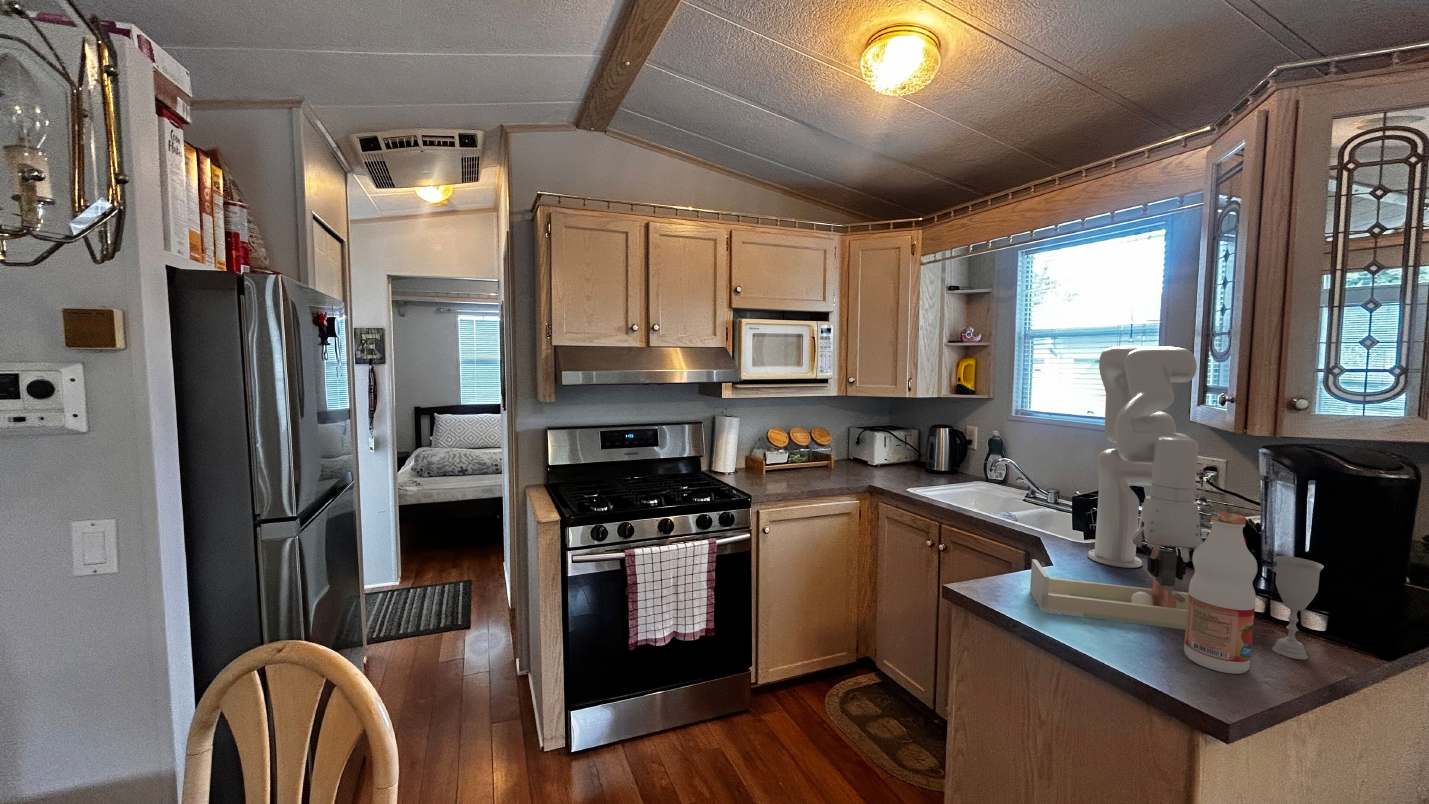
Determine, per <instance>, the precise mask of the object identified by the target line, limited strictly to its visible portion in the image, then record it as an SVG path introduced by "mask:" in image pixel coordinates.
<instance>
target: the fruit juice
mask: <svg viewBox="0 0 1429 804" xmlns="http://www.w3.org/2000/svg"><path fill="white" fill-rule="evenodd" d="M1209 518H1210V522H1211V524H1212V525H1211V528H1210V530H1209V533H1208V535H1207V537H1205V540H1204V541H1203V543H1202V544H1201V545H1199V546H1198V547H1197V548H1196V549H1195V550H1194V553H1193V557H1192V558H1191V559H1192V565H1193V568H1194V572H1193V574H1192V576H1191V577H1190V580H1189V584H1188V592H1187V593H1188V606H1187V617H1186V629H1185V630H1184V631H1185V632H1184V633H1185V634H1184V641H1183V642H1184V643H1183V651H1184V655H1185V656H1186V657H1187V659H1188V660H1191V661H1192V662H1193V663H1195V664H1197V665H1199V666H1201V667H1203V668H1207V669H1210V670H1213V671H1216V672H1220V673H1223V674H1224V673H1226V674H1231V675H1232V674H1233V675H1235V674H1236V675H1237V674H1238V675H1239V674H1244V673H1247V671H1248V670H1249V669H1250V665H1251V652H1252V643H1253V633H1254V622H1255V621H1254V619H1255V610H1256V609H1255V608H1256V590H1255V588H1254V586H1253V583H1254V582H1253V581H1254V580H1255V578H1256V575H1257V574H1258V563H1257V560H1256V558H1255V556H1254V555H1253V554H1252V553H1251V551H1249V549H1248V546H1247V543H1246V544H1245V541H1244V538H1245V536H1244V533H1243V531H1244V528H1245V527H1246V523H1247V520H1246V517H1245V516H1243V515H1242V514H1241V515H1240V514H1237V513H1233V512H1232V513H1231V512H1225V511H1213V512H1211V514H1210V517H1209ZM1243 536H1244V537H1243Z"/></svg>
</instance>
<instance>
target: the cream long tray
mask: <svg viewBox="0 0 1429 804" xmlns="http://www.w3.org/2000/svg"><path fill="white" fill-rule="evenodd" d="M1030 570H1031V572H1030V589H1029V593H1030V594H1031V596H1032V597H1033V599H1034V600H1036V601H1035V602H1036V604H1037V606H1038V605H1039V606H1038V607H1039V609H1040V611H1041V610H1042V611H1043V612H1042V611H1041V612H1042V613H1048V612H1052V613H1051V614H1056V613H1060V614H1059V615H1066V616H1071V615H1072V617H1079V616H1080V617H1081V618H1088V619H1097V620H1103V621H1113V622H1121V623H1126V624H1127V623H1129V624H1136V625H1145V626H1153V627H1161V628H1168V629H1176V630H1182V631H1183V630H1184V631H1185V629H1186V617H1187V606H1188V592H1185V591H1184V592H1183V591H1177V592H1178V593H1179V594H1180V595H1181V596H1183V597H1184V598H1185V602H1183V603H1181V602H1179V601H1178V600H1176V608H1169V607H1160V606H1154V605H1153V606H1152V605H1143V604H1135V603H1132V602H1131V597H1132V595H1133V594H1134V593H1136V592H1140V591H1141V592H1145V593H1147V594H1149V595H1150V596H1151V597H1152V588H1148V587H1141V586H1140V587H1138V586H1129V585H1122V584H1121V585H1119V584H1110V583H1104V582H1103V583H1102V582H1096V581H1095V582H1094V581H1093V582H1092V581H1085V580H1083V581H1082V580H1076V579H1066V578H1058V577H1051V576H1049V575H1048V573H1047V572H1046V570H1045V569H1044V568H1043V566H1042V565H1041V564H1040V562H1039V561H1038V559H1034V558H1033V559H1031V569H1030Z"/></svg>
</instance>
